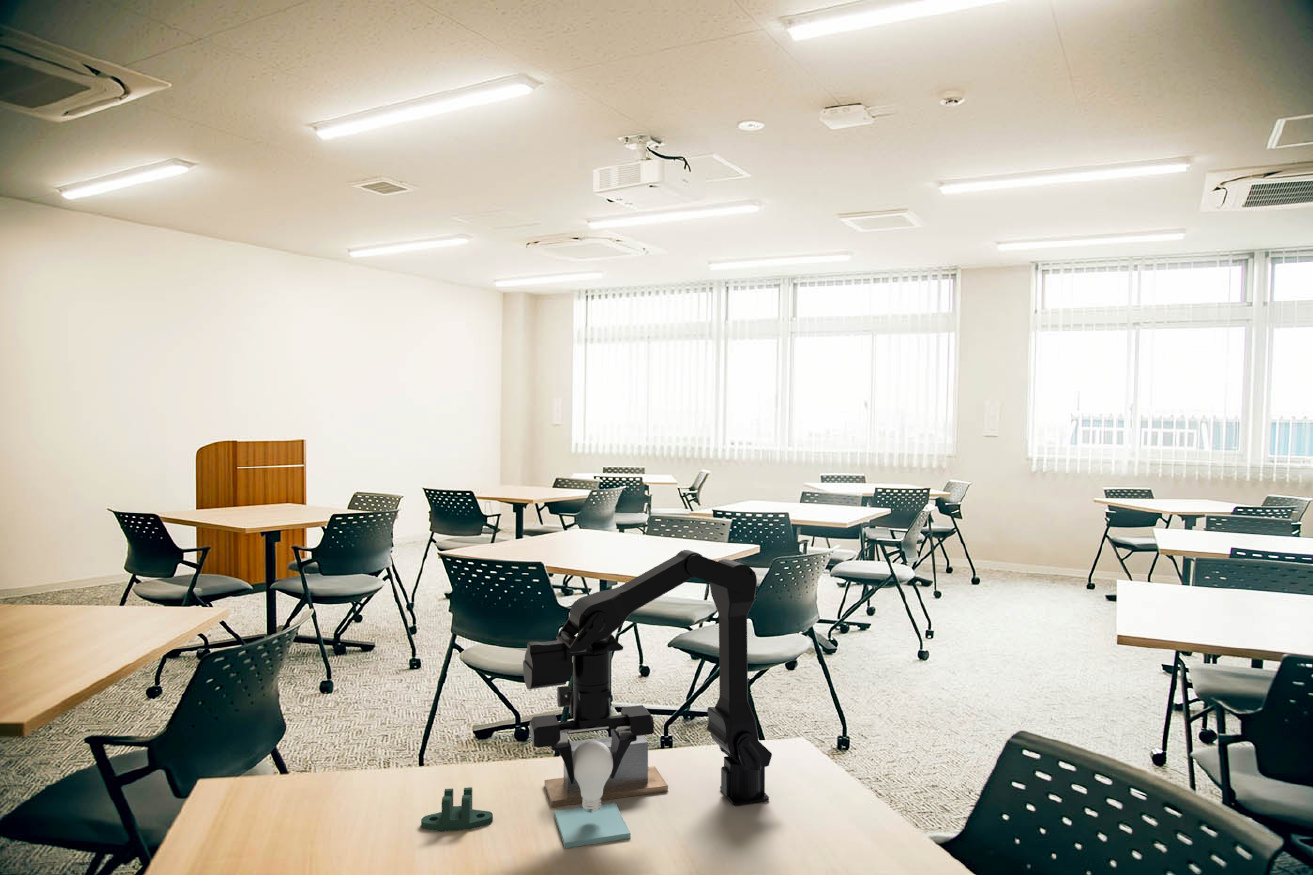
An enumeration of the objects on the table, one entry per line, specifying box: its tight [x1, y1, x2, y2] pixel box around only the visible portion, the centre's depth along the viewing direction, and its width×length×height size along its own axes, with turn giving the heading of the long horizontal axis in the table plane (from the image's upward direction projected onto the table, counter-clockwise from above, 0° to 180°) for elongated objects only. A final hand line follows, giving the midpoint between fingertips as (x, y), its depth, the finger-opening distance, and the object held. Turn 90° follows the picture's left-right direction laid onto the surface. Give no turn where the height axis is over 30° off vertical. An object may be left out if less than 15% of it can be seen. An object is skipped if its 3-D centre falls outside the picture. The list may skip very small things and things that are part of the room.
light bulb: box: [572, 740, 613, 813], centre depth 119 cm, size 7×7×11 cm
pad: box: [553, 802, 631, 849], centre depth 119 cm, size 10×10×1 cm
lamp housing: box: [544, 735, 669, 808], centre depth 132 cm, size 20×8×8 cm, turn 106°
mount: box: [420, 786, 494, 833], centre depth 120 cm, size 11×4×5 cm, turn 98°
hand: (592, 780), depth 119 cm, fingers closed on light bulb, 6 cm apart
